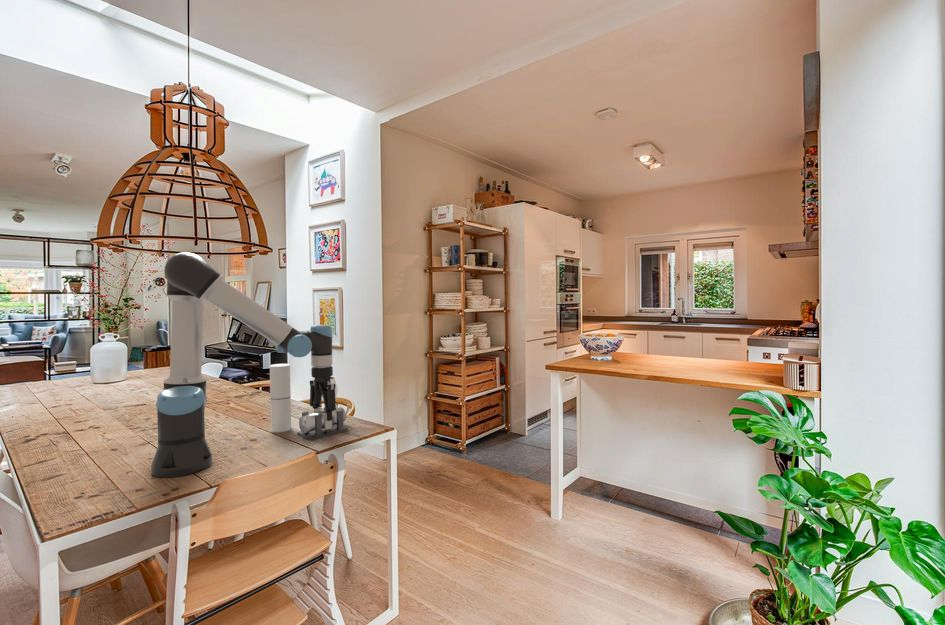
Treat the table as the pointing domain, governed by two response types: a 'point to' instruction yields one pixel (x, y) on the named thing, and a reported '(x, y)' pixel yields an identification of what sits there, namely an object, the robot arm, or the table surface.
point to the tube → (309, 420)
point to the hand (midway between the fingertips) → (323, 427)
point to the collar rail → (320, 431)
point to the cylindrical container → (280, 397)
